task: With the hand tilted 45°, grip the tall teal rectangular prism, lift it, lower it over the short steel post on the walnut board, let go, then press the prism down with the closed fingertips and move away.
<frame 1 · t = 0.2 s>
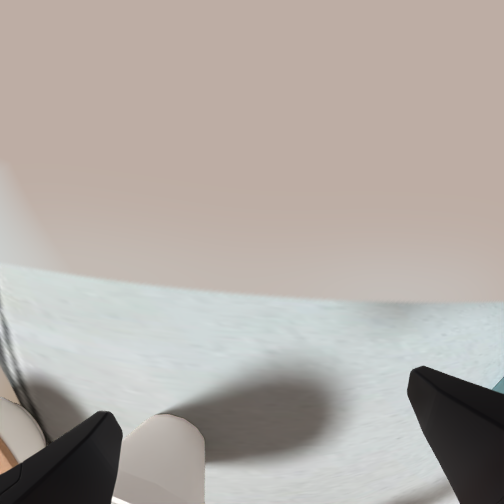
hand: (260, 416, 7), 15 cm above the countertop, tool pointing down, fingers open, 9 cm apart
foam cup: (172, 439, 22), on the countertop
teal rectangular prism: (498, 399, 22), on the countertop
lidded bowl: (26, 427, 22), on the countertop
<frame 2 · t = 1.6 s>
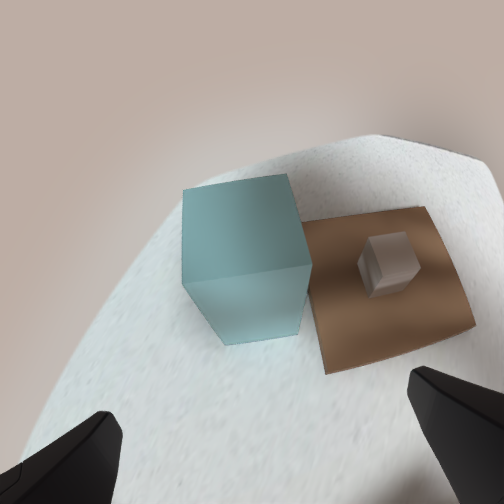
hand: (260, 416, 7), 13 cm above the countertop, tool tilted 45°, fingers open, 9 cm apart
teal rectangular prism: (256, 307, 23), on the countertop
post board: (376, 283, 23), on the countertop
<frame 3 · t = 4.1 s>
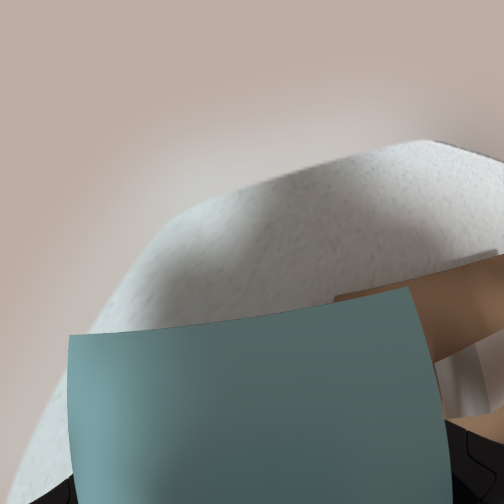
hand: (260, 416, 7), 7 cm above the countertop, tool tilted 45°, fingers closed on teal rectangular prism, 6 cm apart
teal rectangular prism: (272, 440, 12), on the countertop, touching gripper
post board: (452, 384, 12), on the countertop
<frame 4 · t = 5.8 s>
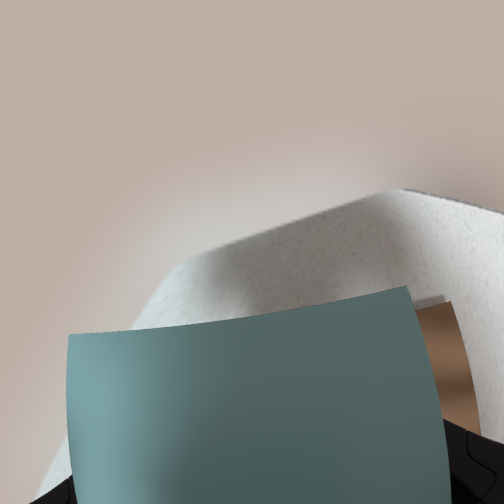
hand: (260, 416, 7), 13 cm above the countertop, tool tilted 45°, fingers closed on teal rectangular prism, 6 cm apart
teal rectangular prism: (271, 440, 12), point 7 cm above the countertop, touching gripper
post board: (382, 405, 18), on the countertop
when the fingers open (9 cm above the countertop, at t = 7.9 s): teal rectangular prism stays where it is, resting on post board.
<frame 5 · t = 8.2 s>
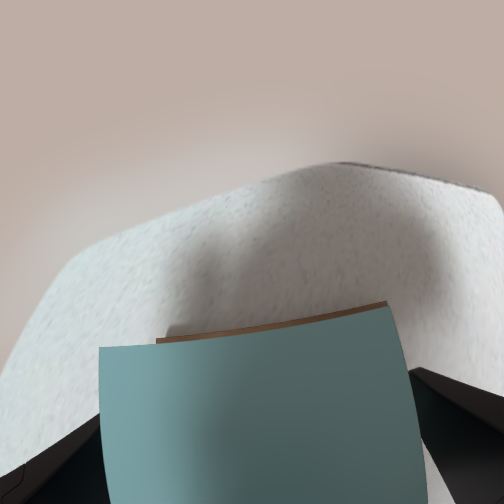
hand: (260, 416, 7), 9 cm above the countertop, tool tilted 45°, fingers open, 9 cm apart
teal rectangular prism: (273, 437, 13), point 1 cm above the countertop, touching post board
post board: (273, 437, 14), on the countertop
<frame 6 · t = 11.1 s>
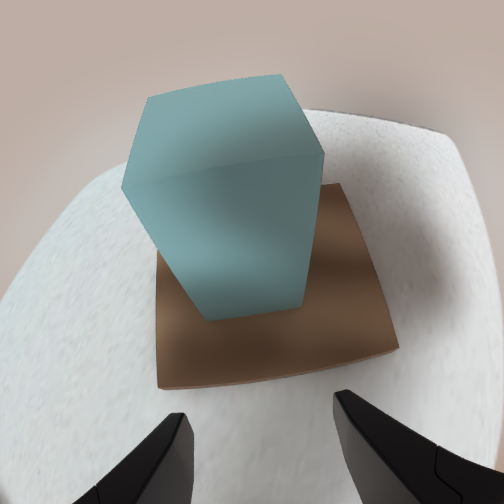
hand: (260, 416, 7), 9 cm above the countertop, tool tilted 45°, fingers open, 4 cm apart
teal rectangular prism: (247, 272, 18), point 1 cm above the countertop, touching post board
post board: (249, 282, 19), on the countertop
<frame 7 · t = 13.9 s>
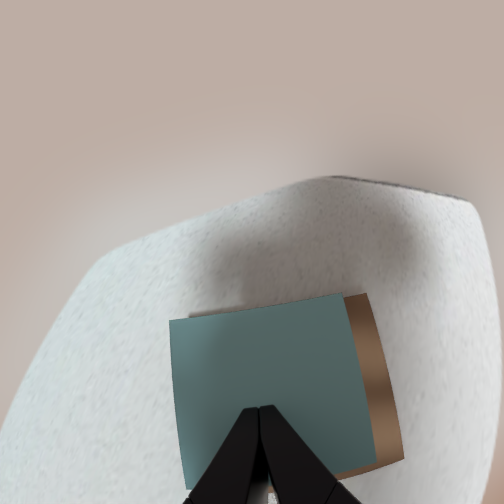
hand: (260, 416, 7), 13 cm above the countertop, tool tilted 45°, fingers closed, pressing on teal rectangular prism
teal rectangular prism: (275, 401, 17), point 1 cm above the countertop, touching gripper, post board
post board: (275, 403, 18), on the countertop
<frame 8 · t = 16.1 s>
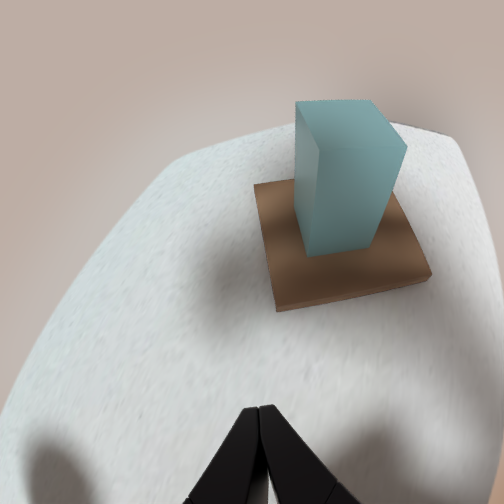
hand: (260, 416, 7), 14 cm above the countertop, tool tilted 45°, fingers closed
teal rectangular prism: (330, 226, 25), point 1 cm above the countertop, touching post board
post board: (328, 234, 26), on the countertop
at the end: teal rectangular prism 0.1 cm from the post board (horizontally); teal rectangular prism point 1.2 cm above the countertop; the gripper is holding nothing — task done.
